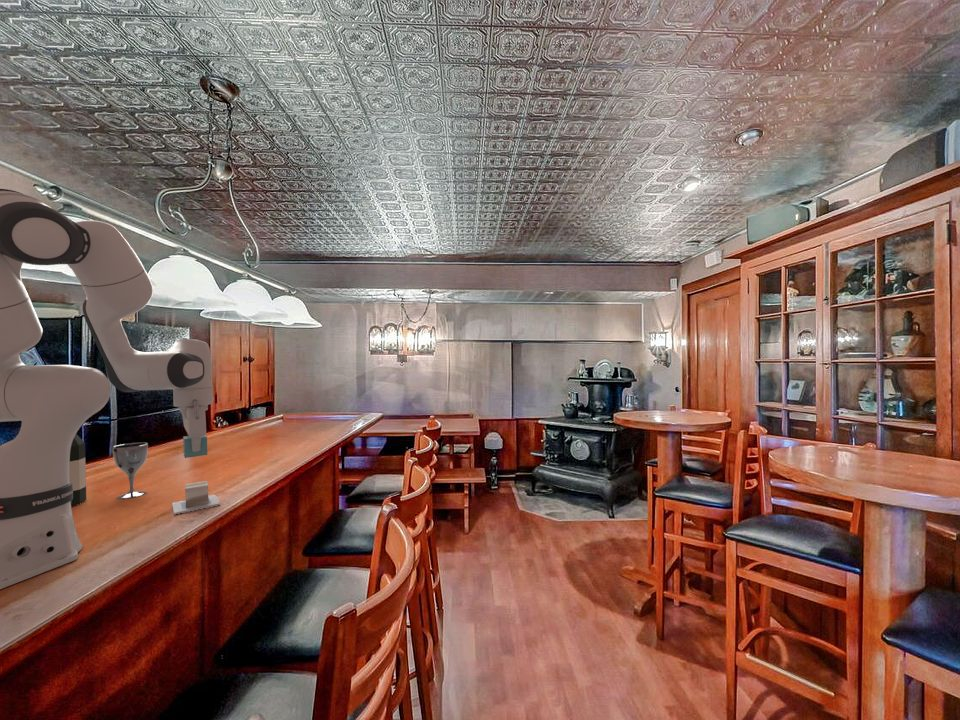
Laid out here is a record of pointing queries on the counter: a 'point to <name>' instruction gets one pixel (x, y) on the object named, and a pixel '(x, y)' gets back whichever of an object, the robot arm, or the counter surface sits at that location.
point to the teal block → (188, 447)
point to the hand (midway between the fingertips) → (195, 448)
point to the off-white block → (196, 493)
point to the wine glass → (130, 463)
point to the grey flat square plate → (181, 506)
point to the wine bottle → (78, 470)
